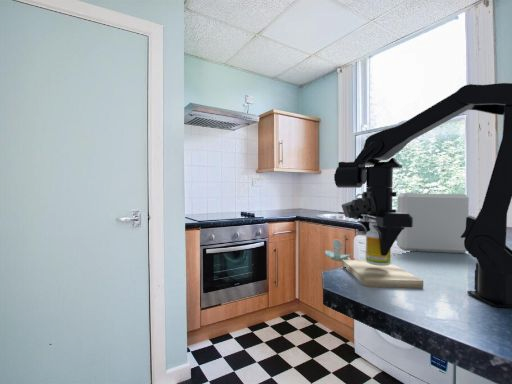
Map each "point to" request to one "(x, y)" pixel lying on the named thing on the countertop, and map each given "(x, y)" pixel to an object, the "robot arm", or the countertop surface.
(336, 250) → the pacifier
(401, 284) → the birch board
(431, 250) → the bevelled white case
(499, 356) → the countertop surface
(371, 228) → the supplement bottle
